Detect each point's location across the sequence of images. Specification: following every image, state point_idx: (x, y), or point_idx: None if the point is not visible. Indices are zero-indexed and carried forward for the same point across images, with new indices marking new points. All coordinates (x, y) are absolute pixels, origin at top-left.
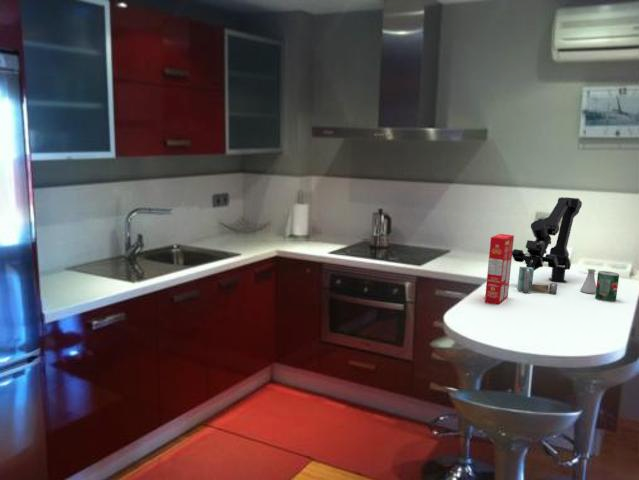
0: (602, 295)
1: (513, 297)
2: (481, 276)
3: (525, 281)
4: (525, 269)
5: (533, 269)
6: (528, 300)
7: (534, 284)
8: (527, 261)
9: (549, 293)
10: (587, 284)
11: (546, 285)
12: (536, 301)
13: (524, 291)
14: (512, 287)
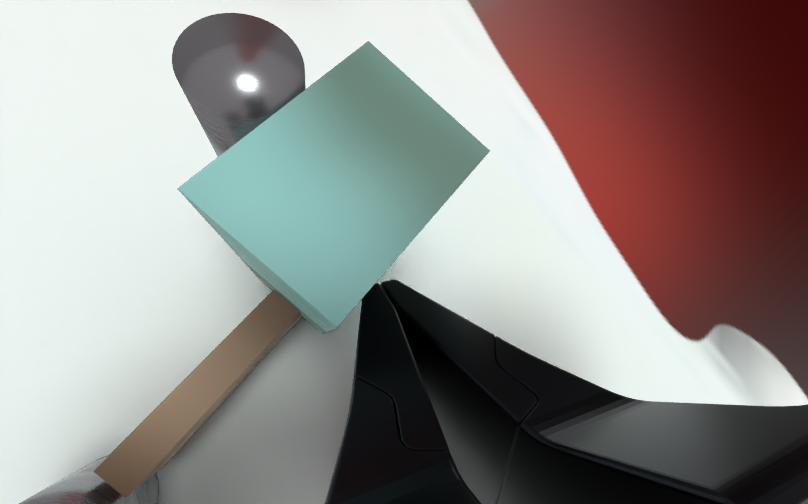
0: None
1: (234, 8)
2: (798, 392)
3: None
4: (268, 24)
5: (190, 190)
6: (97, 10)
7: (256, 326)
8: (586, 405)
9: None
10: None
11: (128, 449)
12: (27, 30)
13: None
14: (474, 303)
